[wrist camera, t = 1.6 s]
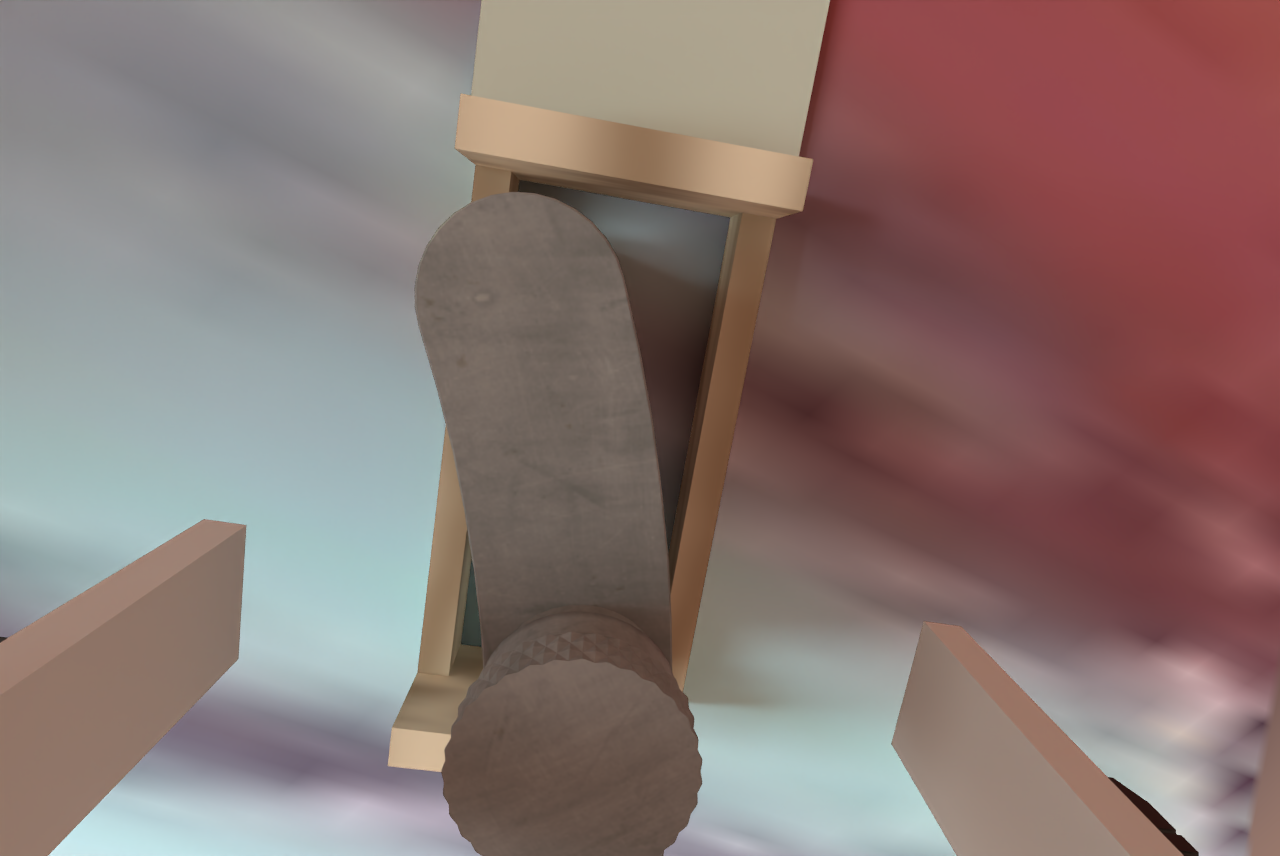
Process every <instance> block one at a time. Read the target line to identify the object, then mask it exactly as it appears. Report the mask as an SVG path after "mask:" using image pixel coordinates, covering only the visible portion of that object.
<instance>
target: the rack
mask: <svg viewBox="0 0 1280 856" xmlns="http://www.w3.org/2000/svg"><path fill="white" fill-rule="evenodd" d="M455 149H456V150H457V151H459V152H460V153H461V154H463V155H464V156H465V157H466V158H468V159H469V160H470V161H471V162H473V163H474V164H475V165H476V166H475V175H474V183H473V192H472V201H471V202H473V201H476V200H479V199H482V198H484V197H487V196H490V195H494V194H501V193H508V192H518V190H519V182H520V180H524V181H529V182H535V183H540V184H546V185H552V186H557V187H563V188H568V189H574V190H580V191H585V192H591V193H596V194H602V195H608V196H613V197H619V198H625V199H630V200H636V201H641V202H647V203H653V204H658V205H664V206H669V207H675V208H681V209H686V210H692V211H697V212H703V213H709V214H714V215H720V216H725V217H730V223H729V228H728V234H727V239H726V244H725V250H724V255H723V261H722V266H721V271H720V277H719V282H718V288H717V293H716V298H715V304H714V309H713V315H712V320H711V325H710V331H709V336H708V342H707V347H706V352H705V358H704V363H703V369H702V374H701V379H700V385H699V390H698V396H697V401H696V406H695V412H694V417H693V423H692V428H691V433H690V439H689V444H688V450H687V455H686V460H685V466H684V471H683V477H682V482H681V487H680V493H679V498H678V504H677V509H676V514H675V520H674V525H673V531H672V536H671V541H670V547H669V552H668V558H669V577H670V597H671V616H672V673H673V676H674V678H675V679H676V680H677V683H678V685H679V688H680V690H681V691H682V692H683V688H684V683H685V678H686V673H687V667H688V662H689V657H690V652H691V647H692V642H693V637H694V632H695V627H696V622H697V617H698V612H699V607H700V602H701V597H702V592H703V587H704V581H705V576H706V571H707V566H708V561H709V556H710V551H711V546H712V541H713V536H714V531H715V526H716V521H717V516H718V511H719V506H720V501H721V496H722V490H723V485H724V480H725V475H726V470H727V465H728V460H729V455H730V450H731V445H732V440H733V435H734V430H735V425H736V420H737V415H738V410H739V405H740V399H741V394H742V389H743V384H744V379H745V374H746V369H747V364H748V359H749V354H750V349H751V344H752V339H753V334H754V329H755V324H756V319H757V313H758V308H759V303H760V298H761V293H762V288H763V283H764V278H765V273H766V268H767V263H768V258H769V253H770V248H771V243H772V238H773V233H774V228H775V222H776V219H777V218H780V217H784V216H787V215H791V214H795V213H798V212H802V211H803V207H804V203H805V198H806V193H807V188H808V183H809V178H810V173H811V168H812V163H813V159H809V158H804V157H798V156H793V155H788V154H782V153H777V152H772V151H766V150H761V149H756V148H750V147H745V146H739V145H734V144H729V143H723V142H718V141H713V140H707V139H702V138H697V137H691V136H686V135H680V134H675V133H670V132H664V131H659V130H654V129H648V128H643V127H638V126H632V125H627V124H621V123H616V122H611V121H605V120H600V119H595V118H589V117H584V116H579V115H573V114H568V113H563V112H557V111H552V110H546V109H541V108H536V107H530V106H525V105H520V104H514V103H509V102H504V101H498V100H493V99H487V98H482V97H477V96H471V95H466V94H461V95H460V105H459V114H458V123H457V132H456V141H455ZM471 561H472V556H471V550H470V543H469V537H468V531H467V525H466V518H465V512H464V507H463V502H462V497H461V492H460V487H459V481H458V476H457V471H456V466H455V461H454V456H453V451H452V447H451V443H450V439H449V435H448V431H447V427H446V428H445V437H444V445H443V454H442V463H441V472H440V480H439V489H438V498H437V507H436V515H435V524H434V533H433V542H432V550H431V559H430V568H429V577H428V585H427V594H426V603H425V612H424V620H423V629H422V638H421V647H420V655H419V664H418V673H417V675H416V677H415V679H414V681H413V683H412V686H411V688H410V690H409V692H408V694H407V696H406V699H405V701H404V703H403V705H402V707H401V709H400V712H399V714H398V716H397V718H396V720H395V722H394V724H393V727H392V732H391V741H390V751H389V760H388V766H393V767H402V768H411V769H419V770H428V771H437V772H441V770H442V767H443V765H444V762H445V752H444V750H445V747H446V745H447V744H448V742H449V741H450V739H451V727H452V725H453V723H454V722H455V720H456V719H457V717H458V707H459V705H460V703H461V702H462V701H463V700H464V699H465V698H466V695H467V691H468V688H469V686H470V685H471V684H472V683H474V682H475V681H476V680H477V679H478V678H479V676H480V674H481V672H482V670H483V657H482V647H479V646H471V645H463V644H461V640H462V632H463V624H464V616H465V608H466V600H467V592H468V584H469V576H470V568H471Z"/></svg>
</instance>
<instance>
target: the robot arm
mask: <svg viewBox="0 0 1280 856" xmlns="http://www.w3.org/2000/svg"><path fill="white" fill-rule="evenodd" d="M245 538H246V525H241V524H234V523H227V522H220V521H213V520H206V519H204V520H202V521H200V522H199V523H197V524H195V525H194V526H192V527H190V528H189V529H187V530H185V531H184V532H182V533H180V534H179V535H177V536H175V537H174V538H172V539H171V540H169V541H167V542H166V543H164V544H162V545H161V546H159V547H157V548H156V549H154V550H152V551H151V552H149V553H147V554H146V555H144V556H142V557H141V558H139V559H138V560H136V561H134V562H133V563H131V564H129V565H128V566H126V567H124V568H123V569H121V570H119V571H118V572H116V573H114V574H113V575H111V576H109V577H108V578H106V579H105V580H103V581H101V582H100V583H98V584H96V585H95V586H93V587H91V588H90V589H88V590H86V591H85V592H83V593H81V594H80V595H78V596H76V597H75V598H73V599H71V600H70V601H68V602H67V603H65V604H63V605H62V606H60V607H58V608H57V609H55V610H53V611H52V612H50V613H48V614H47V615H45V616H43V617H42V618H40V619H38V620H37V621H35V622H34V623H32V624H30V625H29V626H27V627H25V628H24V629H22V630H20V631H19V632H17V633H15V634H14V635H12V636H10V637H9V638H6V637H0V856H48V855H49V854H50V853H51V852H52V851H53V850H54V849H55V848H56V847H57V846H58V845H59V844H60V843H61V841H62V840H63V839H64V838H65V837H66V836H67V835H68V834H69V833H70V832H71V831H72V830H73V829H74V828H75V827H76V826H77V825H78V824H79V823H80V822H81V821H82V820H83V819H84V818H85V817H86V816H87V815H88V814H89V813H90V812H91V811H92V809H93V808H94V807H95V806H96V805H97V804H98V803H99V802H100V801H101V800H102V799H103V798H104V797H105V796H106V795H107V794H108V793H109V792H110V791H111V790H112V789H113V788H114V787H115V786H116V785H117V784H118V783H119V782H120V781H121V780H122V779H123V777H124V776H125V775H126V774H127V773H128V772H129V771H130V770H131V769H132V768H133V767H134V766H135V765H136V764H137V763H138V762H139V761H140V760H141V759H142V758H143V757H144V756H145V755H146V754H147V753H148V752H149V751H150V750H151V749H152V748H153V747H154V745H155V744H156V743H157V742H158V741H159V740H160V739H161V738H162V737H163V736H164V735H165V734H166V733H167V732H168V731H169V730H170V729H171V728H172V727H173V726H174V725H175V724H176V723H177V722H178V721H179V720H180V719H181V718H182V717H183V716H184V714H185V713H186V712H187V711H188V710H189V709H190V708H191V707H192V706H193V705H194V704H195V703H196V702H197V701H198V700H199V699H200V698H201V697H202V696H203V695H204V694H205V693H206V692H207V691H208V690H209V689H210V688H211V687H212V686H213V685H214V684H215V682H216V681H217V680H218V679H219V678H220V677H221V676H222V675H223V674H224V673H225V672H226V671H227V670H228V669H229V668H230V667H231V666H232V665H233V664H234V663H235V662H236V661H237V660H238V655H239V639H240V622H241V605H242V589H243V572H244V555H245ZM891 744H892V746H893V747H894V749H895V751H896V752H897V754H898V756H899V758H900V759H901V761H902V763H903V764H904V766H905V768H906V770H907V771H908V773H909V775H910V776H911V778H912V780H913V781H914V783H915V785H916V787H917V788H918V790H919V792H920V793H921V795H922V797H923V799H924V800H925V802H926V804H927V805H928V807H929V809H930V811H931V812H932V814H933V816H934V817H935V819H936V821H937V823H938V824H939V826H940V828H941V829H942V831H943V833H944V834H945V836H946V838H947V840H948V841H949V843H950V845H951V846H952V848H953V850H954V852H955V853H956V855H957V856H1199V855H1198V854H1199V853H1198V852H1197V851H1196V850H1195V849H1194V848H1193V847H1192V846H1191V845H1190V844H1189V843H1188V842H1187V841H1186V840H1185V839H1184V838H1183V837H1182V836H1181V835H1177V834H1176V830H1175V829H1174V828H1173V827H1172V826H1171V825H1170V824H1169V823H1168V822H1167V821H1166V820H1165V819H1164V818H1163V817H1162V816H1161V815H1160V814H1159V813H1158V812H1157V811H1156V810H1155V809H1154V808H1153V807H1152V806H1151V805H1150V804H1149V803H1148V802H1147V801H1145V800H1144V799H1143V798H1141V797H1140V796H1138V795H1137V794H1135V793H1134V792H1132V791H1131V790H1130V789H1128V788H1127V787H1125V786H1124V785H1122V784H1121V783H1120V782H1118V781H1117V780H1115V779H1114V778H1110V777H1107V776H1106V775H1105V774H1104V773H1103V772H1102V771H1101V770H1100V769H1099V768H1098V767H1097V766H1096V765H1095V764H1094V763H1093V762H1092V761H1091V760H1090V759H1089V758H1088V757H1087V756H1086V755H1085V754H1084V753H1083V752H1082V750H1081V749H1080V748H1079V747H1078V746H1077V745H1076V744H1075V743H1074V742H1073V741H1072V740H1071V739H1070V738H1069V737H1068V736H1067V735H1066V734H1065V733H1064V732H1063V731H1062V730H1061V729H1060V728H1059V727H1058V726H1057V725H1056V724H1055V723H1054V722H1053V721H1052V720H1051V719H1050V718H1049V717H1048V716H1047V714H1046V713H1045V712H1044V711H1043V710H1042V709H1041V708H1040V707H1039V706H1038V705H1037V704H1036V703H1035V702H1034V701H1033V700H1032V699H1031V698H1030V697H1029V696H1028V695H1027V694H1026V693H1025V692H1024V691H1023V690H1022V689H1021V688H1020V687H1019V686H1018V685H1017V684H1016V683H1015V682H1014V681H1013V680H1012V679H1011V677H1010V676H1009V675H1008V674H1007V673H1006V672H1005V671H1004V670H1003V669H1002V668H1001V667H1000V666H999V665H998V664H997V663H996V662H995V661H994V660H993V659H992V658H991V657H990V656H989V655H988V654H987V653H986V652H985V651H984V650H983V649H982V648H981V647H980V646H979V645H978V644H977V643H976V642H975V640H974V639H973V638H972V637H971V636H970V635H969V634H968V633H967V632H966V631H965V630H964V629H963V628H962V627H961V626H954V625H947V624H940V623H933V622H926V621H924V623H923V626H922V630H921V634H920V638H919V642H918V645H917V649H916V653H915V657H914V660H913V664H912V668H911V672H910V675H909V679H908V683H907V687H906V690H905V694H904V698H903V702H902V706H901V709H900V713H899V717H898V721H897V724H896V728H895V732H894V736H893V739H892V743H891Z"/></svg>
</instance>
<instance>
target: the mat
mask: <svg viewBox="0 0 1280 856" xmlns="http://www.w3.org/2000/svg"><path fill="white" fill-rule="evenodd" d="M829 3H830V0H482V1H481V10H480V19H479V28H478V37H477V46H476V55H475V64H474V73H473V82H472V91H471V96H477V97H482V98H487V99H493V100H498V101H504V102H509V103H514V104H520V105H525V106H530V107H536V108H541V109H546V110H552V111H557V112H563V113H568V114H573V115H579V116H584V117H589V118H595V119H600V120H605V121H611V122H616V123H621V124H627V125H632V126H638V127H643V128H648V129H654V130H659V131H664V132H670V133H675V134H680V135H686V136H691V137H697V138H702V139H707V140H713V141H718V142H723V143H729V144H734V145H739V146H745V147H750V148H756V149H761V150H766V151H772V152H777V153H782V154H788V155H793V156H798V157H799V153H800V148H801V143H802V138H803V133H804V128H805V123H806V118H807V113H808V108H809V103H810V98H811V93H812V88H813V83H814V78H815V73H816V68H817V63H818V58H819V53H820V48H821V43H822V38H823V33H824V28H825V23H826V18H827V13H828V8H829Z"/></svg>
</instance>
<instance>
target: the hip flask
mask: <svg viewBox="0 0 1280 856" xmlns="http://www.w3.org/2000/svg"><path fill="white" fill-rule="evenodd" d="M415 310H416V315H417V320H418V325H419V329H420V332H421V336H422V339H423V343H424V346H425V349H426V353H427V356H428V360H429V363H430V366H431V370H432V373H433V377H434V380H435V383H436V387H437V391H438V395H439V399H440V403H441V407H442V411H443V415H444V419H445V423H446V427H447V431H448V435H449V439H450V443H451V447H452V451H453V456H454V461H455V466H456V471H457V476H458V481H459V487H460V492H461V497H462V502H463V507H464V512H465V518H466V525H467V531H468V537H469V543H470V550H471V556H472V562H473V568H474V576H475V585H476V594H477V602H478V611H479V620H480V629H481V643H482V657H483V670H482V672H481V674H480V676H479V678H478V679H477V680H476V681H475V682H474V683H472V684H471V685H470V686H469V688H468V691H467V695H466V698H465V699H464V700H463V701H462V702H461V703H460V705H459V707H458V717H457V719H456V720H455V722H454V723H453V725H452V727H451V739H450V741H449V742H448V744H447V745H446V747H445V750H444V752H445V762H444V765H443V767H442V770H441V773H442V777H443V780H444V788H443V796H444V797H445V799H446V800H447V802H448V804H449V814H450V816H451V818H452V819H453V820H454V821H455V822H456V824H457V825H458V828H459V831H460V834H461V835H462V836H463V837H464V838H465V839H467V840H468V841H469V842H471V844H472V846H473V847H474V849H475V851H476V852H477V853H479V854H480V855H482V856H663V854H664V849H666V848H667V847H669V846H670V845H672V844H673V843H674V842H675V840H676V838H677V836H678V833H679V832H680V831H682V830H683V829H684V828H685V827H686V826H687V824H688V822H689V818H690V814H691V813H692V811H693V810H694V808H695V807H696V805H697V793H698V791H699V789H700V787H701V785H702V778H701V773H700V771H701V765H702V758H701V756H700V754H699V752H698V737H697V735H696V733H695V731H694V729H693V727H694V716H693V715H692V713H691V711H690V710H689V705H688V698H687V696H686V695H685V694H684V693H683V692H682V691H681V690H680V688H679V685H678V683H677V680H676V679H675V678H674V676H673V673H672V616H671V597H670V577H669V558H668V546H667V536H666V526H665V516H664V506H663V496H662V486H661V478H660V471H659V463H658V455H657V448H656V440H655V433H654V425H653V418H652V413H651V407H650V402H649V396H648V391H647V385H646V380H645V374H644V369H643V364H642V358H641V353H640V347H639V343H638V338H637V333H636V329H635V324H634V320H633V315H632V311H631V306H630V302H629V297H628V292H627V288H626V283H625V279H624V275H623V272H622V269H621V266H620V264H619V261H618V258H617V256H616V254H615V252H614V250H613V249H612V247H611V245H610V244H609V242H608V240H607V238H606V237H605V236H604V235H603V234H602V233H601V231H600V230H599V229H598V228H597V227H596V226H595V225H594V223H593V222H592V221H590V220H589V219H588V218H587V217H585V216H584V215H583V214H581V213H580V212H579V211H578V210H576V209H575V208H573V207H571V206H569V205H567V204H565V203H563V202H561V201H559V200H557V199H555V198H551V197H547V196H543V195H540V194H536V193H525V192H508V193H501V194H494V195H490V196H487V197H484V198H482V199H479V200H476V201H473V202H471V203H470V204H468V205H466V206H465V207H463V208H462V209H460V210H458V211H457V212H455V213H454V214H453V215H452V216H451V217H449V218H448V219H447V220H446V221H445V222H444V223H443V224H442V225H441V226H440V227H439V228H438V230H437V231H436V233H435V234H434V235H433V237H432V238H431V240H430V241H429V243H428V244H427V246H426V248H425V251H424V253H423V256H422V258H421V261H420V263H419V266H418V271H417V276H416V281H415Z"/></svg>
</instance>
